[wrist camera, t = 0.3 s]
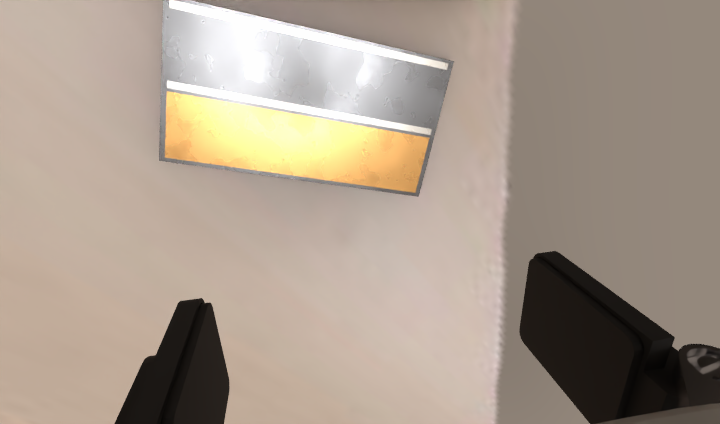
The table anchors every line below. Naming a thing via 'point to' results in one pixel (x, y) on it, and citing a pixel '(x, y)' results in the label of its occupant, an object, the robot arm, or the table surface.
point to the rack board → (295, 101)
